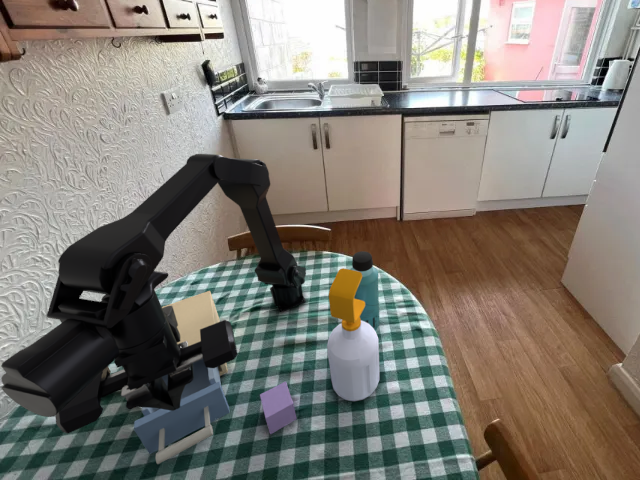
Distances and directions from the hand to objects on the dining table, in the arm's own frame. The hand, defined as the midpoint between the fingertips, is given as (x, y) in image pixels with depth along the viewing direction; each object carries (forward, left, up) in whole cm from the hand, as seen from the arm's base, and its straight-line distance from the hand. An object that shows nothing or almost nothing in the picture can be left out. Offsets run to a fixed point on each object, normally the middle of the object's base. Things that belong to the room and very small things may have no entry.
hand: (176, 406), depth 45 cm
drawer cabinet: (0, -19, -10) cm, 21 cm away
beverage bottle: (-34, -6, -11) cm, 36 cm away
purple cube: (-13, +2, -10) cm, 16 cm away
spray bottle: (-27, +3, -11) cm, 29 cm away
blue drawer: (0, -7, -9) cm, 12 cm away
